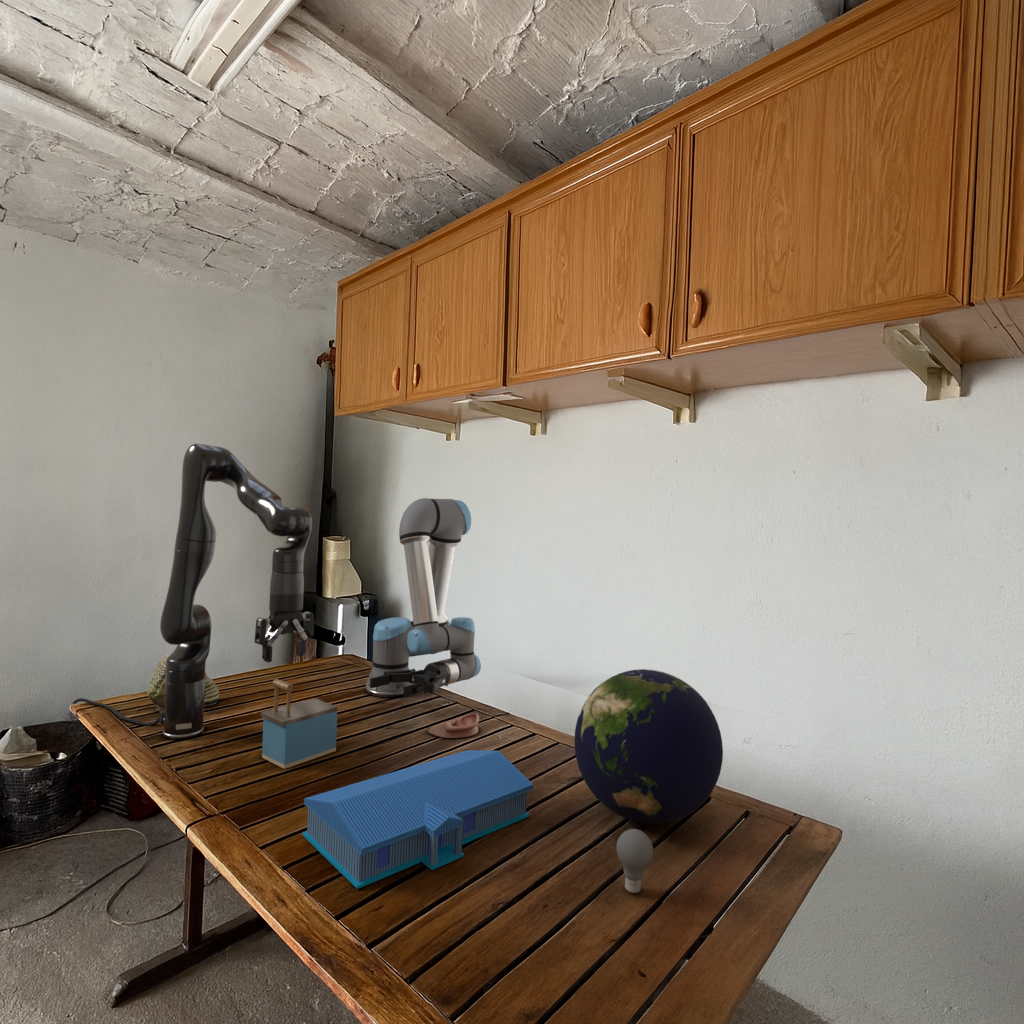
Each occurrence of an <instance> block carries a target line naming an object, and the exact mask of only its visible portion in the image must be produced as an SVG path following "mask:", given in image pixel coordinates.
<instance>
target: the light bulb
mask: <svg viewBox="0 0 1024 1024" xmlns="http://www.w3.org/2000/svg"><path fill="white" fill-rule="evenodd" d="M615 849H616V854H617V857H618V859H619V861H620V863H621V865H622V867H623V873H624V874H623V875H624V876H625V878H624V888H625V890H627V891H628V892H630V893H634V894H635V893H639V892H640V891H641V889H642V887H641V886H642V879H643V877H644V875H645V871H646V868H647V867H648V866H649V864H650V863H651V861H652V859H653V855H654V847H653V843H652V841H651V838H649V836H648V835H647V834H646V833H645V832H643V831H642V830H641V829H636V828H629V829H627V830H625V831H623V832H622V833H621V834H620V835H619V837H618V839H617V841H616V847H615Z"/></svg>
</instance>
